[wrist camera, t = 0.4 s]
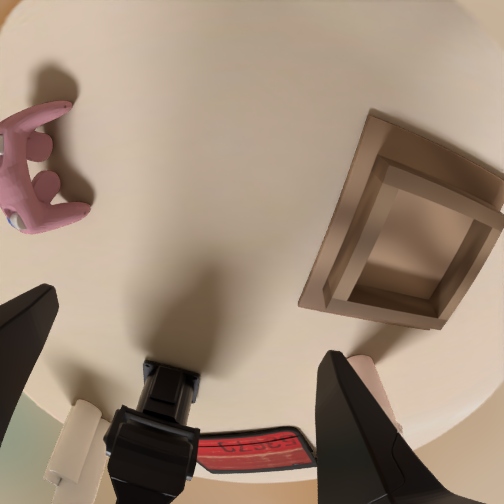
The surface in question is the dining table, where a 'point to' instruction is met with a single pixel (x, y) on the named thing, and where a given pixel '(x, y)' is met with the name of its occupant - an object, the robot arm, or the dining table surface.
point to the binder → (255, 451)
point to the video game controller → (44, 183)
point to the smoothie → (373, 384)
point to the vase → (78, 456)
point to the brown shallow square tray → (405, 232)
